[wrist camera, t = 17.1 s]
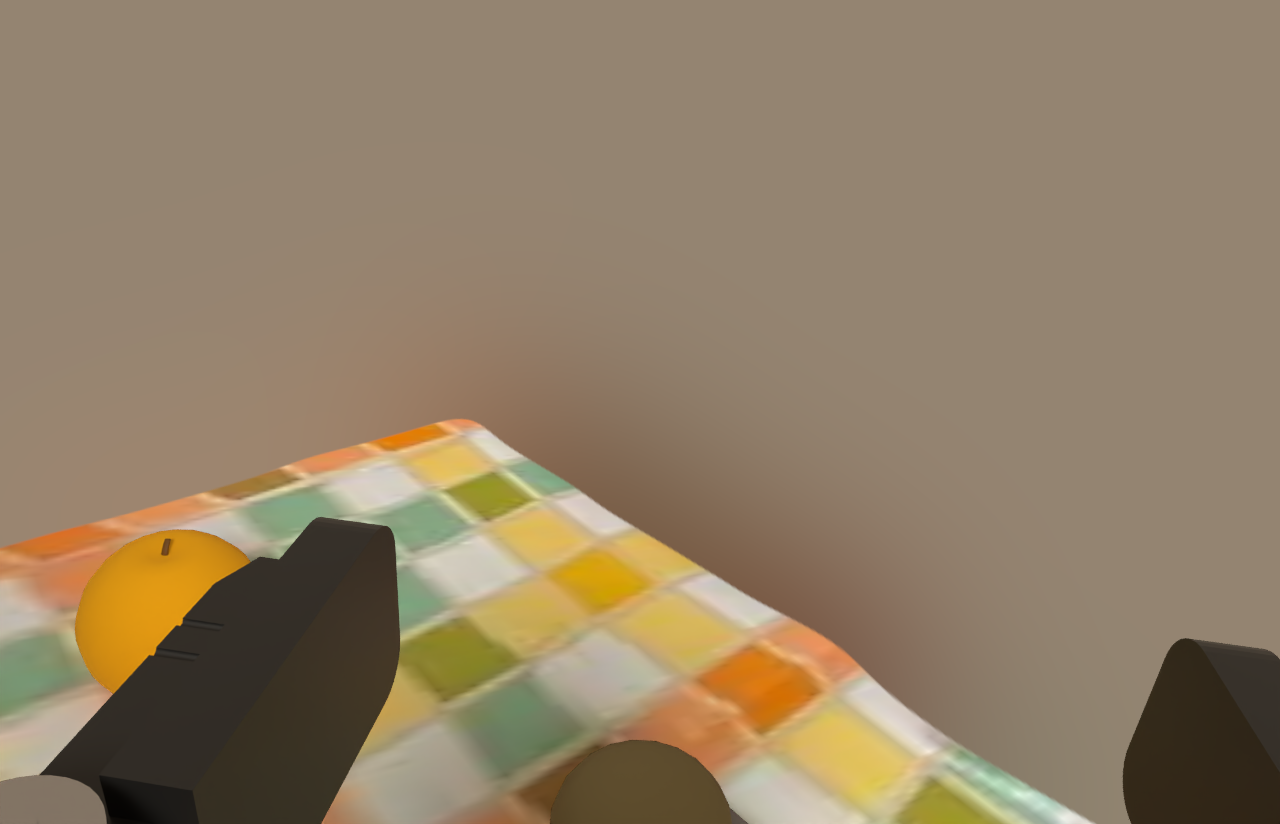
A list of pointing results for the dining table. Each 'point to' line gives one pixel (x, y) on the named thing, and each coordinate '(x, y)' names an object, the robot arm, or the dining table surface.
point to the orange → (146, 597)
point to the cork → (640, 788)
